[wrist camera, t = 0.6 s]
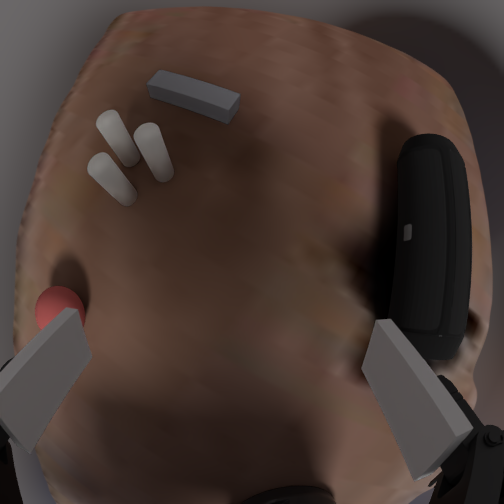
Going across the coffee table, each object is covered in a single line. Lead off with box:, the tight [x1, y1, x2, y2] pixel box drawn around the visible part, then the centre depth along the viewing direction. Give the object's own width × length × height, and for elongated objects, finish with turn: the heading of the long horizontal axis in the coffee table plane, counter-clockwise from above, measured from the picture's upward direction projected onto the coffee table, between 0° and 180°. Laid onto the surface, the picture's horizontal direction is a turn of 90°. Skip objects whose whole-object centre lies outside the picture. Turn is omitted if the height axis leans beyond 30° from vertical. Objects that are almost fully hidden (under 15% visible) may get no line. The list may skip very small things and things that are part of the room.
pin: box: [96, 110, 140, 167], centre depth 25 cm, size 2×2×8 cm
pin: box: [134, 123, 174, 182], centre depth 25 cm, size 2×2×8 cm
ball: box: [35, 286, 85, 330], centre depth 23 cm, size 6×6×6 cm
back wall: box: [146, 70, 240, 124], centre depth 29 cm, size 3×12×3 cm, turn 64°
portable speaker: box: [388, 134, 472, 360], centre depth 26 cm, size 26×10×10 cm, turn 169°
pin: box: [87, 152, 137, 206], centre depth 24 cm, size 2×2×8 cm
